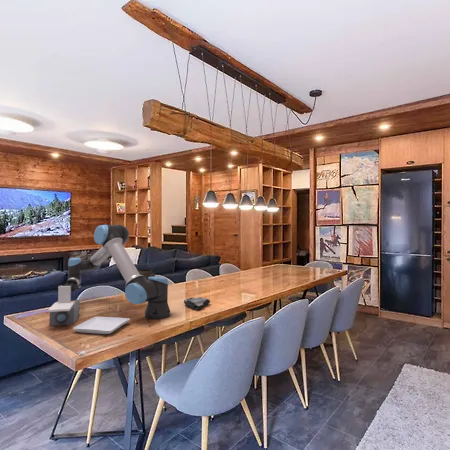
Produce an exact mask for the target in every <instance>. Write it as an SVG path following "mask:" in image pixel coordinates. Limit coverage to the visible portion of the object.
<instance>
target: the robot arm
mask: <svg viewBox="0 0 450 450" xmlns="http://www.w3.org/2000/svg"><path fill="white" fill-rule="evenodd" d="M129 239H130V231H129V230H128V228H127V227H126V226H124V225H122V224H100V225H98V226H97V227H96V228H95V230H94V233H93V241H94V242H95V243H96V244H97V245H99V246H100V245H101V247H100V248H99V249H98V250H97V251H96V252H94V254H93V255H92V256H91V257H90V258H88V259H82V258H80V257H70V258H69V259H68V262H67V267H68V269H67V271H68V272H67V273H68V275H67V280H66V281H65V282H64V284H58V285H57V288H58V287H59V286H71V293H73V292H76V291H77V290H80V289H82V288H81V287H82V285H81V283H82V275H81V274H82V272H87V271H88V272H89V271H96V270H98V269H101V268H100V267H101V266H102V263H103V262H104V261H105V260H106V259H107V258H108V257H109V256H111V258H112V260H113V262H114V263H115V265H116V267H117V268H118V270H119V272H120V274H121V276H122V278H123V279H124V280H125V288H124V289H125V290H124V293H125V294H124V295H125V298H126V300H127V301H128V302H129V303H130V304H133V305H139V304H140V305H141V304H143V303H146V302H147V303H146V304H147V305H146V307H145V310H144V318H146V319H152V320H159V319H166V318H168V317H170V316H171V309H170V307H169V306H170V305H169V302H168V295H169V294H168V293H169V289H168V288H169V284H168V283H169V281H168V279H167V277H162V276H155V277H148V280H146V279H145V277H144V276H143V275H140V274H139V271H138V269H137V266H135V264H134V262H133V260H132V259H131V257H130V255H129V253H128V252H127V250H126V248H125V247H124V245H125V244H126V243H127V242H128V241H129Z"/></svg>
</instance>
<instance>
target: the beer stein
mask: <svg viewBox="0 0 450 450" xmlns="http://www.w3.org/2000/svg"><path fill="white" fill-rule="evenodd" d="M138 272H139V274H140V275H143V276H144V277H145V279H146V280H148V277H156V273H154V272H153V270H152V269H149V268H141V269H139V271H138Z"/></svg>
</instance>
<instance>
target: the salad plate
mask: <svg viewBox="0 0 450 450" xmlns="http://www.w3.org/2000/svg"><path fill="white" fill-rule="evenodd" d="M130 320H131V318H127V317H116V316H94V317H92V318H89V319H88V320H85V321H83V322H81V323H80V324H77V325H76V326H74V327H72V329H73V331H75V332H78V333H83V334H84V333H87V334H97V335H108V334H112V333H113V332H115V331H117V330H118V329H119V328H122V327H123V326H125V325H126V324H127V323H128V322H130Z"/></svg>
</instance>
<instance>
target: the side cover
mask: <svg viewBox="0 0 450 450" xmlns="http://www.w3.org/2000/svg"><path fill="white" fill-rule="evenodd" d="M57 290H58V291H57V292H58V293H57V298H58V299H57V301H58V302H57V301H56V302H54V303H53V304H52V305H51V306H50V307H49V308H48V309H47V312H48V313H50V312H57V311H70V309H71V308H72V307H73V305H74V304H75V302H71V300H72V298H71V297H72V292H71V286H59V287H58V286H57Z"/></svg>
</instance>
